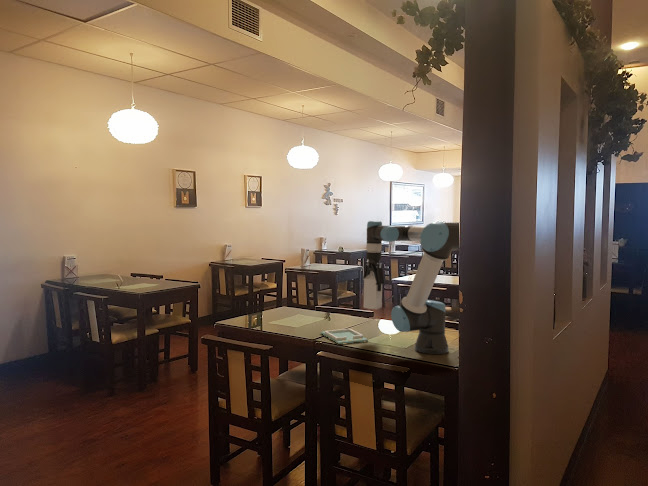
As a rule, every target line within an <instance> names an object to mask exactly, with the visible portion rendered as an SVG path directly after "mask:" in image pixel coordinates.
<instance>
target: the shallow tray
mask: <svg viewBox="0 0 648 486" xmlns="http://www.w3.org/2000/svg"><path fill="white" fill-rule="evenodd" d="M322 334H323V335H324V336H323V335H322ZM320 335H322V336H323V337H325V336H326V337H328V338H330V339H331V340H333V341H335V342H336V343H338V344H343V343H352V344H354V343H353V342H361V343H365V342H364V341H368V342H369V339H368V338H367V337H364V335H363V334H362V333H360V332H358V331H356V330H354V329H352V328H343V329H331V330H324V331H320ZM326 337H325V338H326ZM328 338H327V339H328ZM330 339H329V340H330ZM331 340H330V341H331ZM333 341H332V342H333ZM335 342H334V343H335ZM336 343H335V344H336ZM338 344H337V345H338ZM343 345H344V344H343Z"/></svg>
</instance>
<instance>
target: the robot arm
mask: <svg viewBox="0 0 648 486" xmlns="http://www.w3.org/2000/svg"><path fill="white" fill-rule="evenodd" d="M459 223H460V222H442V221H437V222H431V223H428V224H426V226H425V225H383V222H382V221H381V220H380V221H379V220H368V221H367V225H366V245H365V246H366V248H365V250H366V255H365V256H366V257H365V259H366V260H367V261H366V260H365V261H364V270H363V276H362V278H363V279H362V280H364V278H366V277H367V276H368V275H369V274H370V273H371V271H373V272H374V275H375V279H376V289H375V298H380V297H381V284H382V285H383V284H385V280H384V279H385V278H384V271H383V270H384V269H383V265H384V264H383V263H380V260H382V247H383V246H382V242H387V243H389V242H390V243H392V242H400V241H401V242H418V243H419V242H420V245H421V250H422V252H423V254H422V257H421V260H420V263H419V265H418V267H417V269H416V273H415V275H414V278H413V280H412V283H411V285H410V287H409V291H408V293H407V296H404V297H403V298H402V299H401V301H400V303H399V305H396V306H394V307H392V310H391V313H390V314H391V322H392V324H393V326H394V328H395V330H397V331H399V332H401V333H408V332H414V331H418V335H417V338H416V341H415V344H414V349H415V351H416V352H418V351H419V353H421V352H422V353H421V354H427V355H444V354H447V353H449V345H448V341H447V338H446V313H447V312H446V304H445V303H443V302H441V301H437V300H431V299H428V298H429V296H430V294H431V291H432V289H433V286H434V284H435V281H436V279H437V278H438V275H439V273H440V270H441V267H442V266H443V262H444V261H446V260H448V259H449V258H450V255H451V254H452V251H460V250H459Z"/></svg>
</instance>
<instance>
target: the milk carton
mask: <svg viewBox="0 0 648 486" xmlns="http://www.w3.org/2000/svg"><path fill="white" fill-rule="evenodd" d="M375 289H376V279H375V275H374V272H373V271H371V273H370V274H369V275H368V276H367V277H366V278H364V279H363V308H364V309H371V310H379V309H381V308H382V305H383V302H382V301H383V284H381V297H380V298H375Z"/></svg>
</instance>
